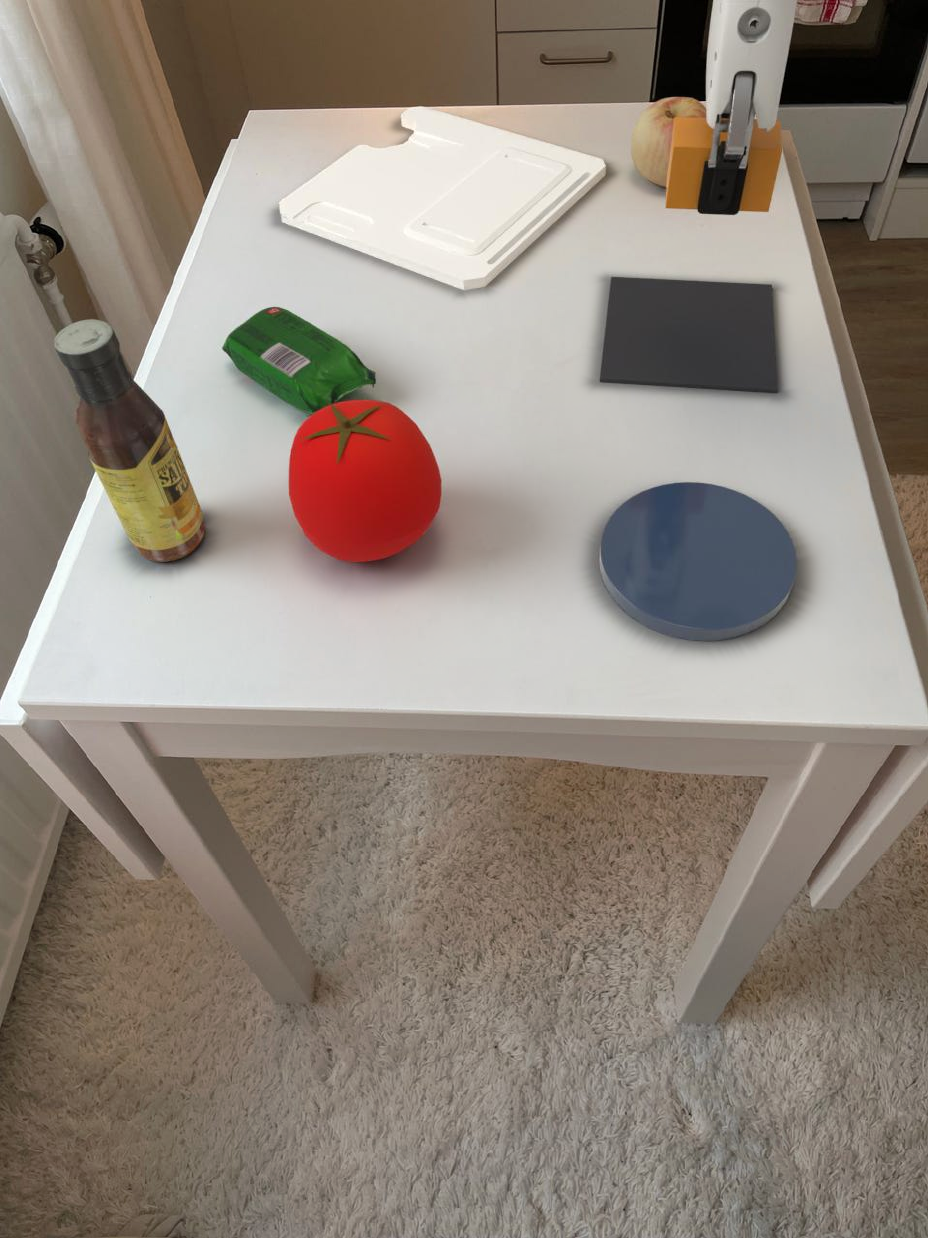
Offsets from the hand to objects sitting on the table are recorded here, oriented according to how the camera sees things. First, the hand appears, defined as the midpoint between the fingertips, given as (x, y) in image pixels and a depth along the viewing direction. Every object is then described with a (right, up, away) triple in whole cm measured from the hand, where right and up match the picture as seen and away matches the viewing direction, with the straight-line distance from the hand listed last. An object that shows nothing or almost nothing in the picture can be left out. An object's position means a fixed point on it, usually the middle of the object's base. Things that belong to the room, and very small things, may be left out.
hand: (717, 191), depth 77 cm
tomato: (-28, -28, +2) cm, 39 cm away
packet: (0, 0, 0) cm, 0 cm away
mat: (+1, -7, +16) cm, 17 cm away
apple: (+3, +16, +32) cm, 36 cm away
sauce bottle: (-45, -28, +3) cm, 53 cm away
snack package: (-36, -12, +14) cm, 40 cm away
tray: (-23, +14, +33) cm, 42 cm away
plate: (-2, -30, -1) cm, 30 cm away
